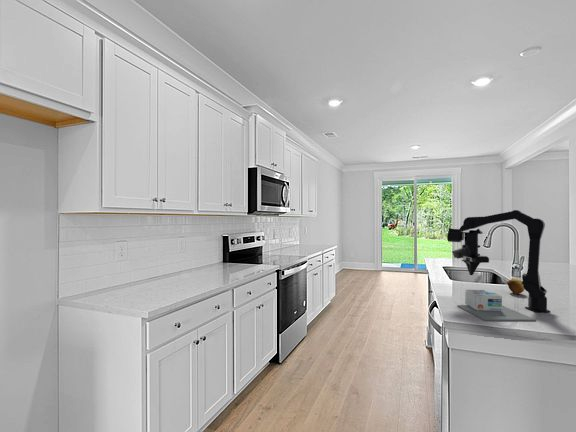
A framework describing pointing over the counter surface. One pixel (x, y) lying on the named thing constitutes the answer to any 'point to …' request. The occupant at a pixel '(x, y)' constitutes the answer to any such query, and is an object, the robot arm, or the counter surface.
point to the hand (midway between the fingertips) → (471, 275)
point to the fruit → (515, 286)
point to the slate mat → (497, 314)
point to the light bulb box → (483, 300)
